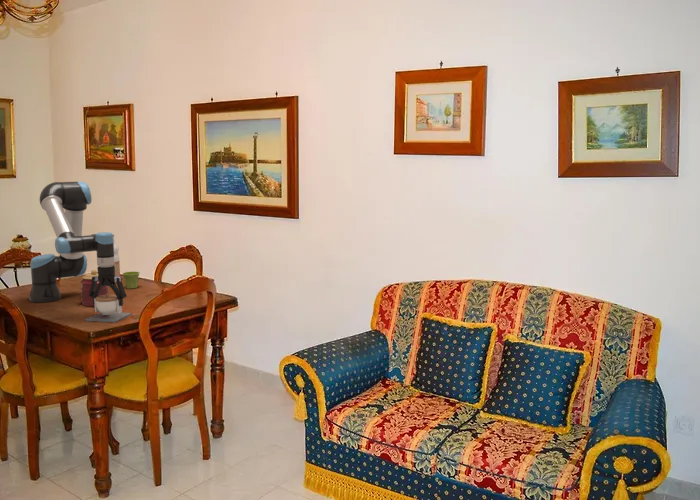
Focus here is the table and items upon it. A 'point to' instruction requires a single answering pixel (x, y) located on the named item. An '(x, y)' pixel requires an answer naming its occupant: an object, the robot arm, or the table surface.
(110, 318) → the slate board
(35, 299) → the robot arm
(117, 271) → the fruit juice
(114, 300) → the lidded jar
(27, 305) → the table surface
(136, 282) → the plant pot
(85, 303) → the canister
